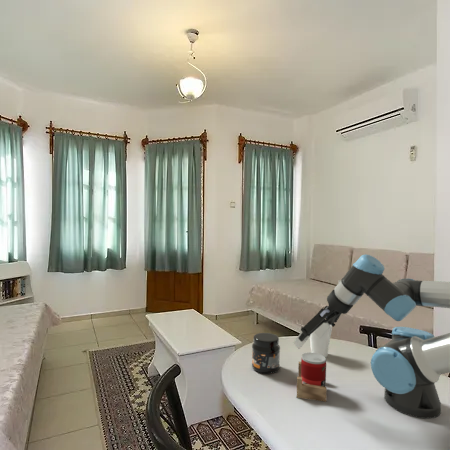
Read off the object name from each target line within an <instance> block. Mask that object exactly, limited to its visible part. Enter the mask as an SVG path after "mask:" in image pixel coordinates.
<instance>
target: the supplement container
mask: <svg viewBox="0 0 450 450" xmlns="http://www.w3.org/2000/svg"><path fill="white" fill-rule="evenodd" d="M252 341H253V343H252V345H251V347H252V349H251V350H252V351H251V352H252V354H251V356H252V357H251V359H252V360H251V367H252V368H253V370H254V371H255V372H258V373H260V374H267V375H269V374H274V373H276V372H278V371H279V369H280V367H281V366H280V365H281V364H280V358H281V357H280V352H281V351H280V350H281V345H280V344H279V343H280V338H279V336H278V335H277V334H274V333H271V332H259V333H256V334H254V335H253V340H252Z"/></svg>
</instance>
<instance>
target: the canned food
mask: <svg viewBox="0 0 450 450" xmlns="http://www.w3.org/2000/svg"><path fill="white" fill-rule="evenodd" d="M300 362H301V377H302V384H309V385H317V386H324V387H326V388H327V385H326V384H327V383H326V381H327V357H326V358H325V357H324V356H323V355H321V354H317V353H311V352H303V354H302V355H301V361H300Z"/></svg>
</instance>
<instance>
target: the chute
mask: <svg viewBox="0 0 450 450" xmlns="http://www.w3.org/2000/svg"><path fill="white" fill-rule="evenodd" d="M297 369H298V373H297V374H298V376H297V377H296V398H299V399H305V400H311V401H317V402H324V403H326V402H327V386H326V387H324V386H317V385H309V384H302V377H301V361H298V368H297Z"/></svg>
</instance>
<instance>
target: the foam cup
mask: <svg viewBox="0 0 450 450" xmlns="http://www.w3.org/2000/svg"><path fill="white" fill-rule="evenodd" d="M317 329H318V328H317ZM317 329H316V330H317ZM316 330H315V331H316ZM315 331H314V332H315ZM332 331H333V326H332V325H331V327H330V328H329V329H328V330H327V331H326V332H325V334H324V335H323V336H322V337H321V338H319V337H318V336H317V335H316V334H315V333H314V332H313V333H312V334H310V335H311V336H310V337H309V343H310V345H309V346H310V353H317V354H321V355H323V356H324V357H326V358H327V357H328V354H329V348H330V347H329V346H330V341H331V335H332Z"/></svg>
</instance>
